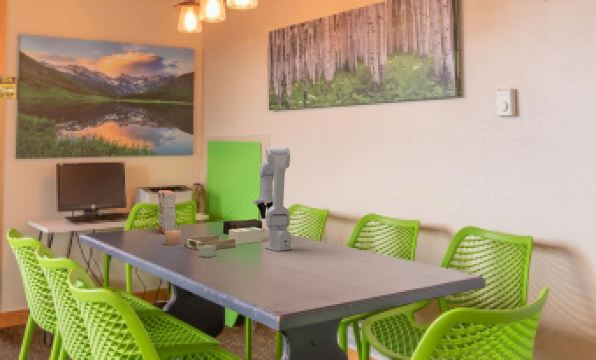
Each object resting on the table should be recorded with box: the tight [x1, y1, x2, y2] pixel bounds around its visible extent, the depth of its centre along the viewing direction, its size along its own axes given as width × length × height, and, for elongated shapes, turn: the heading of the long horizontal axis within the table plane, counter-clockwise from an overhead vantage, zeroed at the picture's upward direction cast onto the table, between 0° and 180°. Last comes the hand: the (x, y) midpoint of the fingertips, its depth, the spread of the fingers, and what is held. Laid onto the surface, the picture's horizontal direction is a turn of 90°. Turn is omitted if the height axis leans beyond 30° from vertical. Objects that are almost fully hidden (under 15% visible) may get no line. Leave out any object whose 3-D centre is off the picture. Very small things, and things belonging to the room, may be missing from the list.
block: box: [164, 229, 182, 246], centre depth 261 cm, size 7×7×6 cm
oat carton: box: [228, 227, 264, 245], centre depth 268 cm, size 8×14×6 cm, turn 127°
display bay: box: [184, 234, 236, 251], centre depth 255 cm, size 14×18×4 cm
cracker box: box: [158, 189, 177, 235], centre depth 292 cm, size 14×6×21 cm, turn 25°
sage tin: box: [198, 245, 217, 258], centre depth 236 cm, size 5×5×4 cm
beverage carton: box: [222, 218, 263, 236], centre depth 294 cm, size 8×19×7 cm, turn 123°
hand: (266, 218), depth 275 cm, fingers open, 3 cm apart
